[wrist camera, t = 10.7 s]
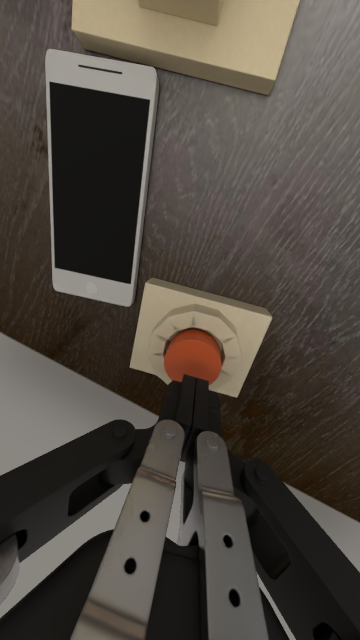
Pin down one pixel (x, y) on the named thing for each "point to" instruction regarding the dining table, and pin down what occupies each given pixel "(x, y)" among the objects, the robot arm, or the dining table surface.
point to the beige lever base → (192, 36)
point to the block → (198, 314)
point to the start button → (193, 356)
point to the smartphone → (98, 171)
